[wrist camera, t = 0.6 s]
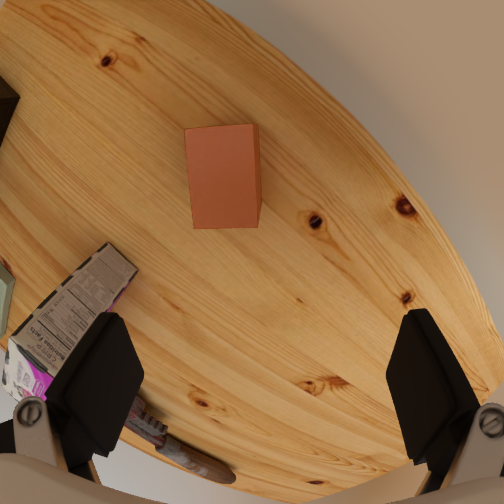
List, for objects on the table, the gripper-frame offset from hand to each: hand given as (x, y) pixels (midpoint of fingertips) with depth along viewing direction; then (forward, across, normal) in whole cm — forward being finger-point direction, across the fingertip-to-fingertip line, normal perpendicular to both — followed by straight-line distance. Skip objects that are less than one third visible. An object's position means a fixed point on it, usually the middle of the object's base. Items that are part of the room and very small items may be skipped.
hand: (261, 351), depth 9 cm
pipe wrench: (+18, +19, +37) cm, 45 cm away
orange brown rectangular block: (+18, +3, -3) cm, 19 cm away
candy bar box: (+18, +19, +9) cm, 28 cm away
